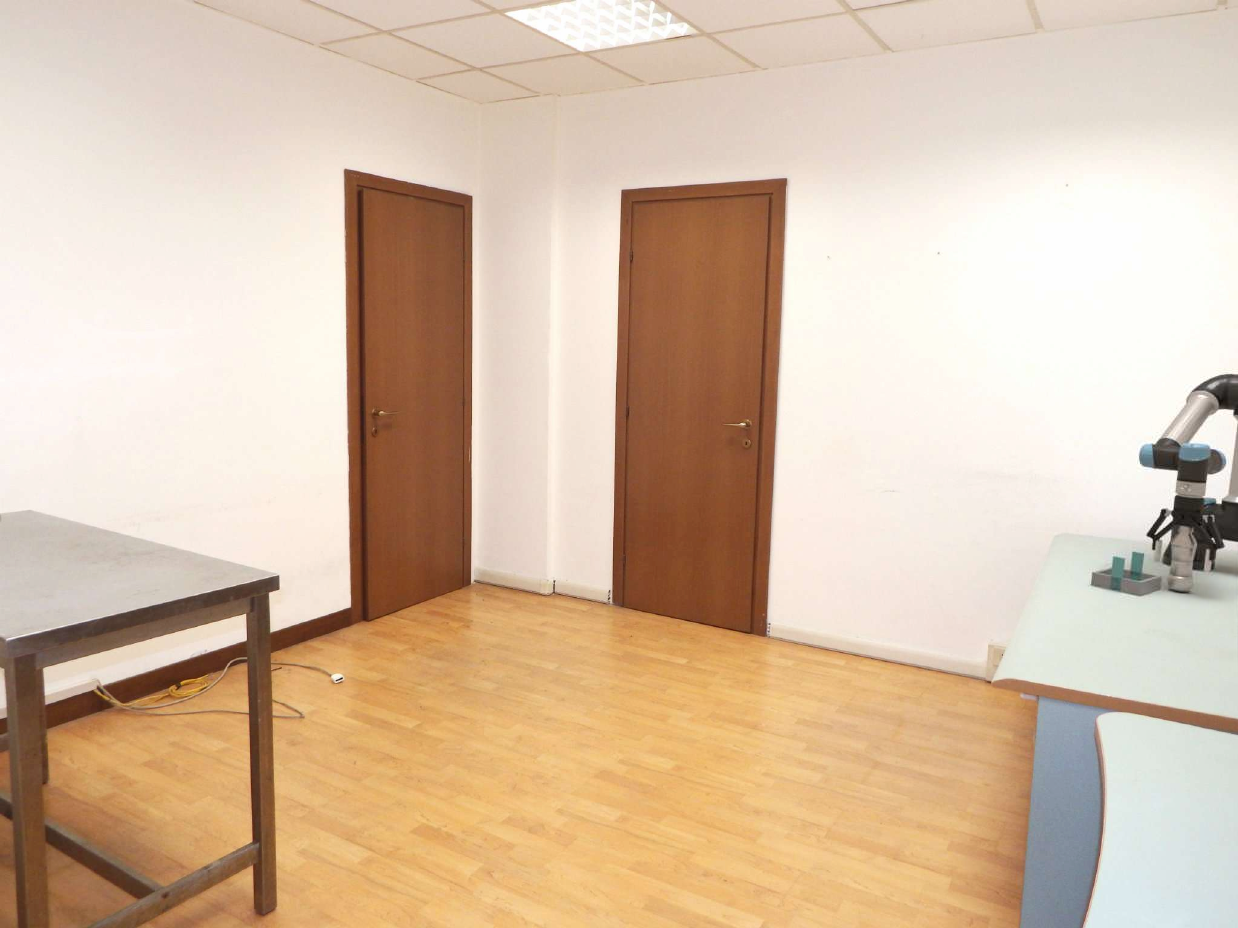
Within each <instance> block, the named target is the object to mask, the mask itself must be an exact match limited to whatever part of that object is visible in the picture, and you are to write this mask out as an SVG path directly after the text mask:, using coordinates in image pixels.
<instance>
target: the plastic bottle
mask: <svg viewBox="0 0 1238 928" xmlns="http://www.w3.org/2000/svg"><path fill="white" fill-rule="evenodd" d="M1178 531H1179V533H1178V534H1176V535H1175V536H1174V537H1173V539H1172V541H1171V548H1172V562H1171V565H1170V570H1169V573H1168V576H1167V580H1166V582H1167V583H1166V584H1167V588H1168V589H1169V590H1172V591H1176V592H1180V593H1181V592H1182V593H1183V592H1190V591H1191V590H1192V589H1193V586H1194V577H1193V569H1192V566H1193V560H1194V555H1195V551H1196V547H1197V542H1196V540H1195V538H1194V536H1193V535H1192V532H1193V528H1190V526H1182V525H1179V528H1178Z"/></svg>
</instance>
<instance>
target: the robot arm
mask: <svg viewBox="0 0 1238 928" xmlns="http://www.w3.org/2000/svg"><path fill="white" fill-rule="evenodd" d="M1220 410H1227V411H1228V410H1229V411H1233V413H1232V416H1233V418H1234V419H1235V420H1236V421H1237V422H1238V373H1236V374H1235V373H1224V374H1218V375H1216V376H1213V377H1211V378H1209V379H1206V380H1204V381H1203V382H1202V383H1200V384H1199V385H1196V387H1195V388H1193V389H1192V390H1191V392H1189V394H1188V395H1187V397H1186V399H1185V405H1184V406H1183V407H1182V408H1181V410H1180V411H1179V413H1178V414H1176V416H1175V418H1174V419H1173V420H1172V422H1171V423H1170V425H1169V426H1168V427H1167V428H1166V429H1165V430H1164V432H1163V433H1162V434H1161V436H1160V437H1159V438H1158V440H1157V441H1156V443H1144V444H1142V446H1141V447H1140V450H1139V452H1138V461H1139V464H1140V465H1141V466H1142V467H1143V468H1148V469H1153V470H1166V471H1175V472H1177V473H1176V482H1175V483H1176V484H1175V492H1174V493H1175V494H1176V495H1174V499H1173V509H1169V508H1161V509H1160V513H1159V516H1158V518H1156V520H1155V522H1154V523H1153V524H1152V526H1151V527H1150V528H1149V529H1148V531H1147V533H1146V534H1145V535H1146V537H1148V538H1150V539H1151V540H1152V545H1151V549H1152V551H1154V556H1153V563H1159V562H1162V563H1163V564H1166V565H1167V566H1171V562H1172V548H1171V541H1172V539H1173V537H1174V536H1175V535H1176V534H1178V533H1179V531H1178V528H1179V525H1182V526H1190V528H1193V532H1192V535H1193V536H1194V538H1195V540H1196V542H1197V547H1196V551H1195V555H1194V560H1193V566H1192V570H1196V571H1197V570H1198V571H1203V572H1206V573H1207V572H1210V571H1212V570H1214V569H1215V567H1216V558H1217V552H1218V550H1222V549H1224V548H1225V547H1226V545H1225V543H1224V541H1227V542H1235V543H1238V423H1237V426H1236V432H1235V433H1236V434H1235V441H1234V449H1233V455H1232V456H1233V457H1232V464H1231V470H1230V471H1231V472H1230V478H1229V487H1228V494H1227V495H1225V496H1224V497H1223V498H1222V499H1221V503H1218V502H1217V498H1214V497H1205V496H1206V490H1207V489H1206V488H1207V480H1208V475H1212V476H1213V475H1215V474H1217V473H1220V472H1222V471H1223V470H1224V469H1225V468H1226V465H1227V458H1226V456H1225V454H1224V453H1223V452H1222V451H1220V450H1218V449H1215V448H1211V446H1209V444H1205V443H1193V442H1191V441H1192V440H1193V438H1194V437H1195V435H1196V434H1197V433H1198V432H1199V430H1201V429H1200V428H1201V427H1202V426H1203V425H1204V423H1205V422H1206V420H1207V419H1208V418H1210V417H1209V416H1212V415H1214V414H1216V413H1217V412H1218V411H1220ZM1170 515H1171V517H1172V520H1171V521H1170V522H1169V523H1168V524H1167V525H1166V526H1164V527H1163V528H1162V529H1161V530H1159V529H1160V528H1161V526H1162V525H1163V523H1164V522H1165V521H1166V519H1167V517H1169V516H1170ZM1158 530H1159V531H1158ZM1157 531H1158V532H1157ZM1170 531H1171V532H1170ZM1169 532H1170V540H1169V542H1168V545H1167V547H1166V548H1165V550H1164V552H1163V554H1162V549H1163V540H1161V538H1163V537H1164V536H1165V535H1166V534H1168V533H1169ZM1161 555H1162V556H1161ZM1161 559H1162V560H1161Z"/></svg>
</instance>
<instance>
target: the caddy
mask: <svg viewBox="0 0 1238 928" xmlns="http://www.w3.org/2000/svg"><path fill="white" fill-rule="evenodd" d="M1144 559H1145V553H1144V552H1139V551H1135V550H1134V551H1132V554H1131V562H1130V569H1127V568H1125V564H1126V563H1125V562H1126V558H1125V557H1123V556H1122V557H1120V556H1112V562H1111V567H1107V568H1103V569H1100V570H1096V571H1092V572H1091V581H1090V585H1091V587H1092V586H1094V587H1096V588H1097V587H1098V588H1102V589H1108V590H1111V591H1116V592H1121V593H1124V594H1130V595H1134V596H1139V597H1142V596H1144V595H1149V594H1151V593H1153V592H1157V591H1160V590H1161V586H1162V577H1163V576H1162V575H1157V574H1152V573H1146V572H1143V570H1144Z"/></svg>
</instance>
